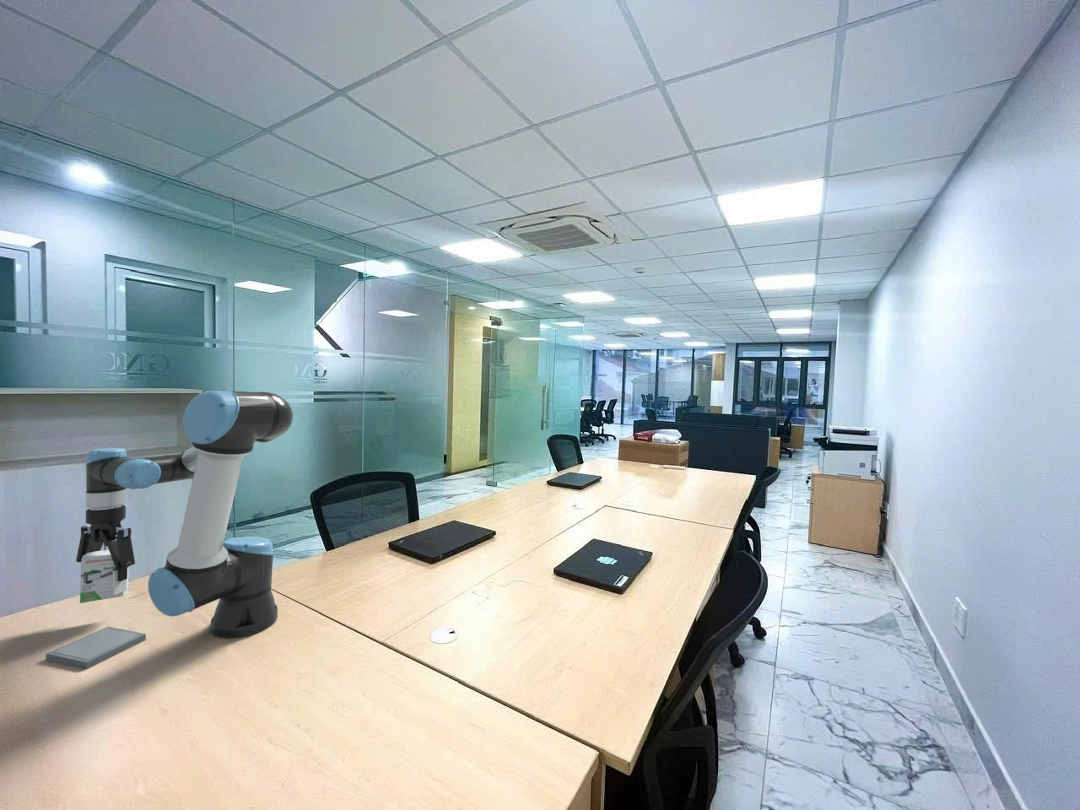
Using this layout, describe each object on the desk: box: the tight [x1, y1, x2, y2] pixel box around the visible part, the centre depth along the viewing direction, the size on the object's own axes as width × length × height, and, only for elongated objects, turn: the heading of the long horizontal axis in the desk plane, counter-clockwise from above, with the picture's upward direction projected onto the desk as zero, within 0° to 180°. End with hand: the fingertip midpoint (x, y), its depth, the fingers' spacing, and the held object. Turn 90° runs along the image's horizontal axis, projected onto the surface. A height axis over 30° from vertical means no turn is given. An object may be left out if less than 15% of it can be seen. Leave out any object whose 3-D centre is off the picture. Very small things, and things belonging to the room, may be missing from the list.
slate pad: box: [45, 626, 147, 670], centre depth 103 cm, size 12×12×2 cm
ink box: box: [79, 549, 130, 604], centre depth 115 cm, size 9×5×12 cm, turn 123°
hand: (105, 590), depth 115 cm, fingers closed on ink box, 9 cm apart
